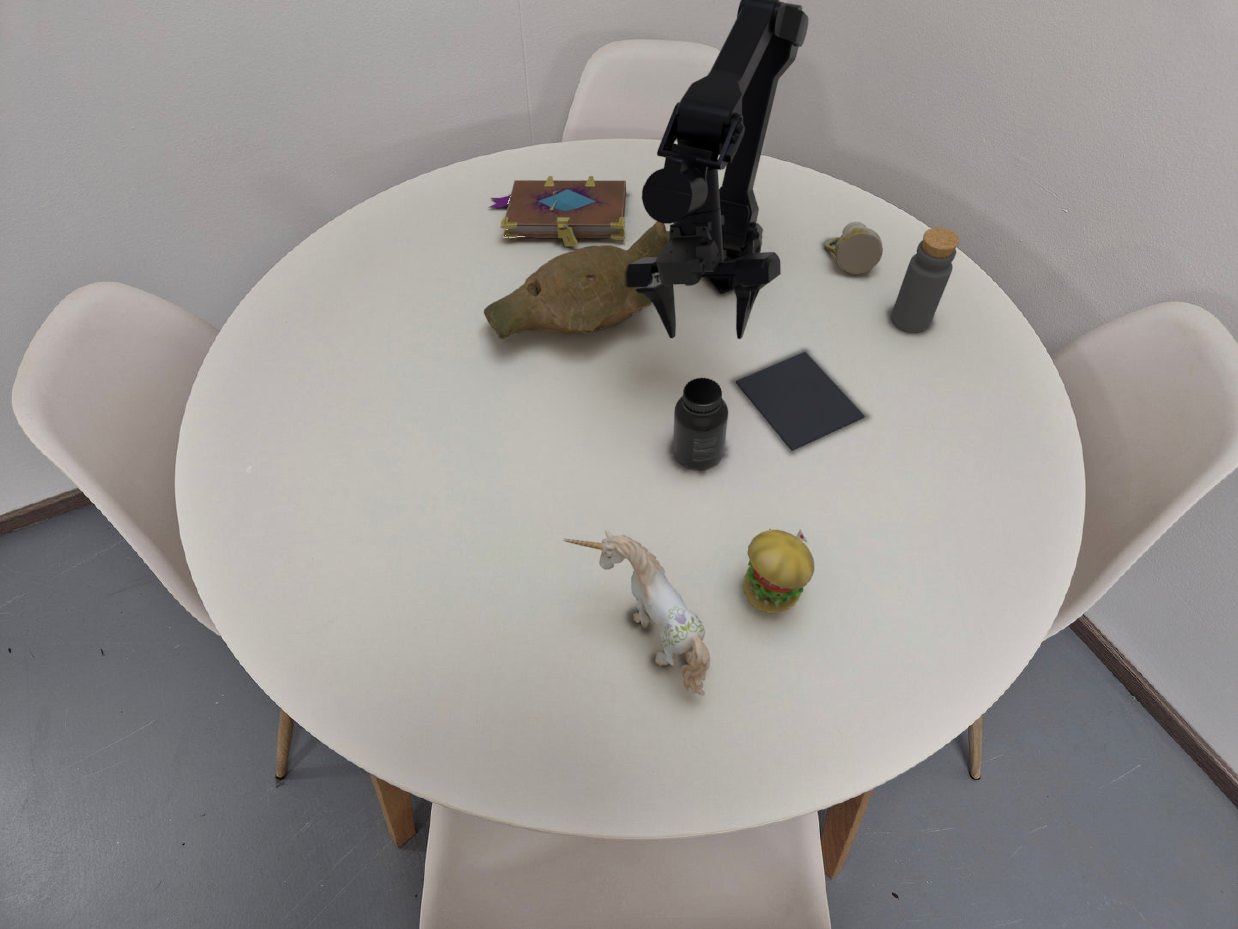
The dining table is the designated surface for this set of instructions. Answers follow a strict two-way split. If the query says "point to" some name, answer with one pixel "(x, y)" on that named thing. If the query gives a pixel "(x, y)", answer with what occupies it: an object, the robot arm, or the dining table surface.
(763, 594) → the hamburger
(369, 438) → the dining table surface
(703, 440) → the supplement bottle
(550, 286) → the sculpture
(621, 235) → the book
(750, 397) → the mat
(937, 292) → the bottle
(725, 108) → the robot arm
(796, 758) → the dining table surface
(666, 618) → the unicorn figurine
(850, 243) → the mug
